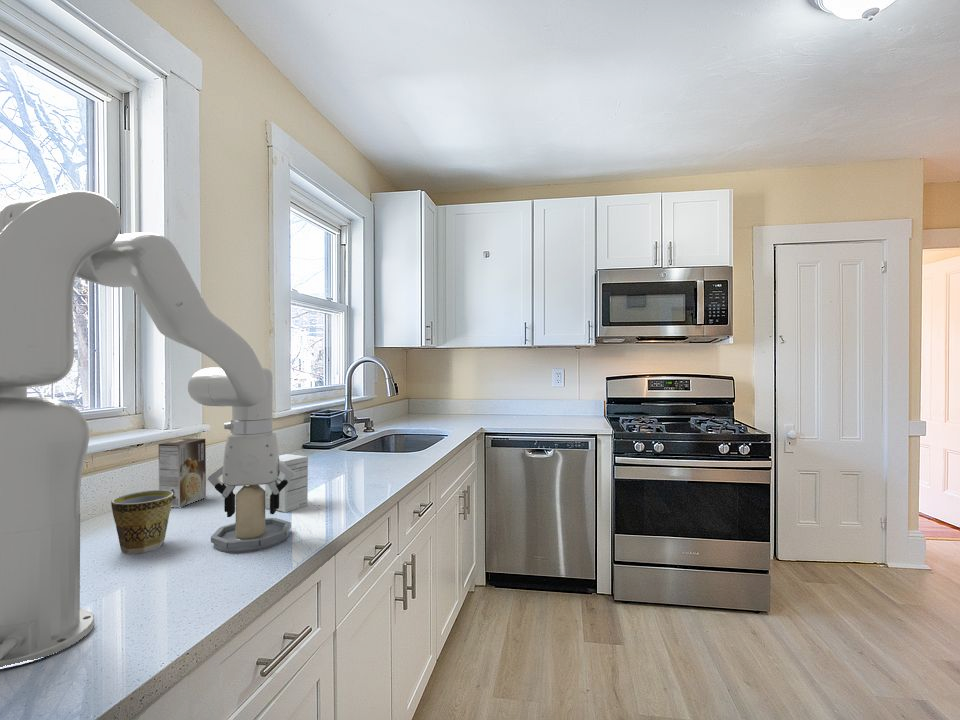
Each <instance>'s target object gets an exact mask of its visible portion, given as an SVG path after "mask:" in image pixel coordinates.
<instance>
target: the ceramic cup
mask: <svg viewBox="0 0 960 720" xmlns="http://www.w3.org/2000/svg"><path fill="white" fill-rule="evenodd" d="M172 501H173V492H171V491H167V490H159V489H156V490H154V489H151V490H142V491H137V492H135V491H134V492H131V493H126V494H123V495H119V496H118V497H114V498H113V499H111V502H110V504H111V512H112V515H113V520H114V523H115V526H116V529H115V530H116V534H117V536H118V537H117V538H118V543H119V546H120V550H121V552H123V553H125V554H127V555H133V554H144V553H148V552H149V553H150V552H152V551H154V550H159V548H160V547H161V546H163V544H164V543H165V539H166V535H167V528H168V524H169V519H170V514H171V509H172V508H171V506H172Z"/></svg>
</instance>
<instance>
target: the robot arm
mask: <svg viewBox="0 0 960 720" xmlns="http://www.w3.org/2000/svg"><path fill="white" fill-rule="evenodd" d="M121 228H122V217H121V213H120V210H119V209H118V207H117V206H116V204H115V203H114V202H113V201H111V200H110V199H109V198H108V197H106V196H104V195H102V194H100V193H96V192H92V191H87V190H81V189H80V190H68V191H62V192H55V193H50V194H45V195H39V196H33V197H27V198H22V199H18V200H14V201H12V202H9V203H7V204H6V205H4V206H2V208H1V209H0V667H3V666H5V665H6V666H7V665H11V664H15V663H20V662H23V661H27V660H34V659H38V658H41V657H45V656H48V655H51V656H53V655H54V654H53V653H56V652H58V653H60V652H62V651H64V650H66V649H68V648H70V647H72V646H74V645H75V644H77V643H78V642H80V641H81V640H82V638H83V637H84V636H85V637H86V636H87V635H88V634H89V633H90V632H91V631H92V630H93V629H94V627H93V626H95V615H94V614H93V612H91V611H89V610H87V609H83V608H81V598H80V597H81V486H82V475H83V469H84V464H85V460H86V456H87V452H88V448H89V447H88V446H89V441H90V428H89V425H88V422H87V420H86V418H85V416H84V415H83V414H82V412H81V411H79V410H78V409H77V408H76V407H75V406H73V405H71V404H69V403H67V402H65V401H62V400H58V399H55V398H47V397H35V396H34V397H31V396H30V397H28V388H36V387H37V388H38V387H44V386H49V385H51V384H56V383H57V382H59V381H62V380H63V379H64V378H65V377H66V376H68V374H69V373H70V371H71V370H72V367H73V364H74V359H75V358H74V357H75V355H74V354H75V345H74V344H75V340H74V337H75V336H74V309H73V308H74V307H73V305H74V304H73V299H74V285H75V280H76V278H79V279H81V280H84V281H88V282H90V283H94V284H97V285H101V286H105V287H110V288H128V287H129V288H130V287H131V288H132V290H133V291H134V293H135V295H136V296H137V298H138V300H140V303H141V304H142V306H143V307H144V309H145V311H146V312H147V314H148V315H149V318H150V319H151V321H152V322H153V324H154V326H155V327H156V329H157V330H158V332H159V333H160V334H162V335H163V336H164V337H166V338H168V339H169V340H172V341H174V342H176V343H178V344H180V345H184V346H187V347H188V348H191V349H193V350H196V351H197V352H199V353H202V354H203V355H205V356H206V357H208V358H209V359H211V361H213V362H214V363H215V364H216V365H217V366H211V367H204V368H202V369H200V370H199V369H198V371H196V372H194V373H193V374H192V375H191V377H190V378H189V380H188V382H187V393H188V394H189V397H190V398H191V399H192V400H193V401H195V402H196V403H198V404H200V405H203V406H207V407H221V408H222V407H223V408H224V407H231V411H232V412H231V415H232V416H231V419H232V420H230V421H229V422H224V426H223V427H224V430H229V431H230V433H231V434H229V435H227V437H226V441H225V447H224V453H223V462H222V463H223V464H222V466H221V467H220V468H219V469H217V470H216V471H214V472H213V473H212V474H210V475H208V477H207V480H208V482H209V483H210V484H211V485H212V486H213V487H214V489H215V491H217V492H219V494H221V496H222V498H224V500H223V501H224V505H223V506H224V508H223V509H224V512H225V513H226V517H227V518H231V517H232V516H234V514H236V494H235V493H234V490H235V488H236V487H243V486H249V485H259V486H260V485H265V484H267V485H268V486H269V488H270V489H271V491H272V494H271V495H270V509H269V514H270V515H274V514H275V513H276V511H277V510H276V509H279V492H280V491H281V490H282V489H283V488H284V487H285V486H286V485H287V484H288V483H289V481H290V480H291V479H292V477H293V476H294V475H295V472H294V471H293V470H291V469H290V468H288V467H287V466H285V465H284V464H282V463H281V462H280V461H279V455H280V451H279V444H278V437H277V434H276V432H273V391H274V389H273V383H274V382H273V379H274V378H273V373H272V371H271V370H270V369H269V368H267V367H266V368H265V367H262V364H261V363H260V360H259V358H258V356H257V355H256V353H255V351H254V350H253V348H252V347H251V345H250V344H249V343H248V342H247V341H246V340H245V338H243V337H242V336H241V335H240V334H238V333H237V332H236V331H235V330H234V329H232V327H230V325H228V324H227V323H225V322H224V321H223V320H221V319H219V318H218V317H217V316H216V315H215V314H213V312H212V311H211V310H210V309H209V307H208V305H207V303H206V302H205V299H204V298H203V296H202V294H201V293H200V291H199V289H198V286H197V284H196V283H195V281H194V279H193V278H192V276H191V275H192V274H191V273H190V272H189V270H188V268H187V266H186V264H185V261H183V258H182V256H181V255H180V253H179V251H178V249H177V248H176V246H175V245H174V244H173V242H171V240H170V239H169V238H167V237H165V236H163V235H161V234H158V233H153V232H133V233H123V234H121V230H122V229H121ZM280 471H281V472H282V473H284V474H285V478H284V479H283V480H282V481H281V482H280V483H278V481H277V480H276V479H277V477H279V474H280ZM221 476H222V481H221V480H220V477H221ZM85 637H84V638H85ZM84 638H83V639H84ZM80 639H81V640H80ZM79 640H80V641H79ZM77 641H78V642H77ZM76 642H77V643H76ZM71 645H72V646H71ZM67 647H68V648H67ZM65 648H66V649H65ZM63 649H64V650H63ZM61 650H62V651H61ZM59 651H60V652H59ZM52 654H53V655H52ZM56 654H57V653H56Z"/></svg>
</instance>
